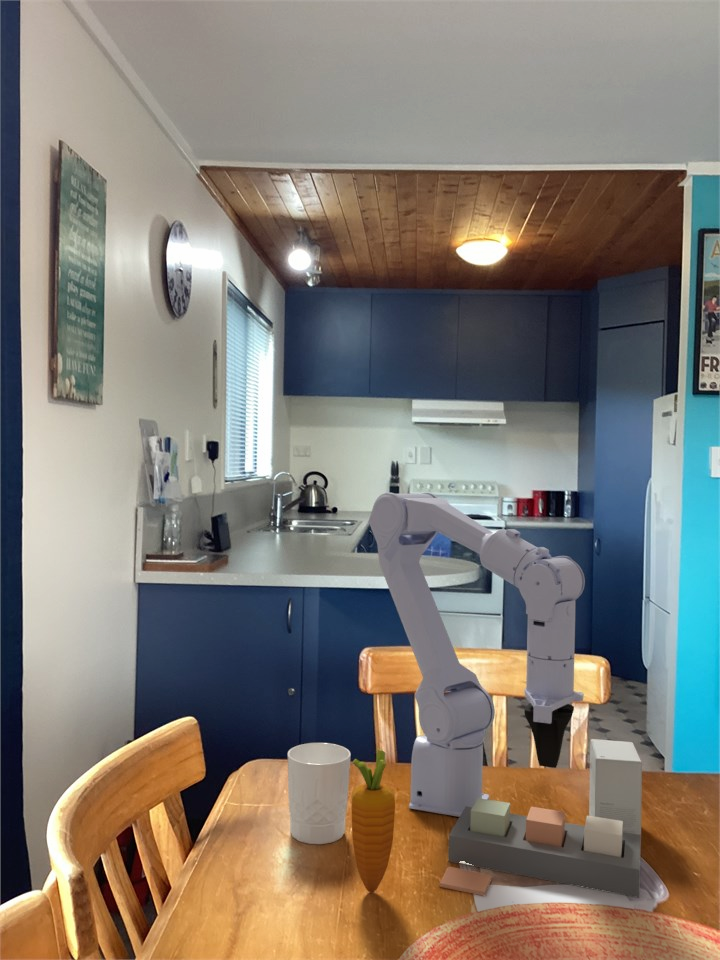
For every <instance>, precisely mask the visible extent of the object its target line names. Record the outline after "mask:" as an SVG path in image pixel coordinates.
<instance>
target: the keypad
mask: <svg viewBox="0 0 720 960" xmlns="http://www.w3.org/2000/svg"><path fill="white" fill-rule="evenodd" d="M471 809H472V807H467V806H466V807H465V809H464V810H463V812H462V814H461V815H460V817H458V818H457V821H456V823H455V824H454V826H453V827H452V830H450V833H449V835H448V853H447V855H448V856H447V857H448V860H447V861H448V862H450V863H453V864H454V863H456V864H460V863H459V862H460V861H465V862H466V863H469V864H472V865H474V866H473V867H476V868H477V867H478V868H481V869H487V870H493V871H497V872H502V873H506V874H507V873H508V874H514V875H518V876H523V877H528V878H535V879H538V880H539V879H540V880H544V881H545V880H546V881H551V882H554V883H555V882H556V883H561V884H565V885H570V886H571V885H572V886H576V887H581V886H583V887H582V888H586V887H588V888H587V889H591V888H593V889H592V890H596V889H598V890H597V891H602V890H603V891H602V892H608V893H612V894H613V893H614V894H618V895H623V896H629V897H635V898H640V888H641V887H640V885H641V884H640V881H641V880H640V879H641V849H642V848H641V847H642V846H641V845H642V834H641V835H638V834H632V833H626V832H623V833H622V857H616V856H611V855H605V854H599V853H594V852H588V851H584V828H585V825H584V824H583V825H582V824H578V823H577V824H576V823H570V822H565V842H564V846H563V847H559V846H554V845H548V844H542V843H536V842H531V841H526V819H527V816H528V815H522V814H521V815H520V814H515V813H510V829H509V832H508V834H507V837H502V836H496V835H491V834H485V833H479V832H473V831H470V823H471Z"/></svg>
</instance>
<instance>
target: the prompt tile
mask: <svg viewBox="0 0 720 960" xmlns="http://www.w3.org/2000/svg"><path fill="white" fill-rule="evenodd" d="M492 879H493V875H492V874H489V873H484V872H480V871H474V870H468V869H465V868H458V867H453V866H447V867H446V870H445V872H444V874H443V876H442V878H441V880H440V881H439V887H440V888H445V889H449V890H454V891H458V892H463V893H469V894H475V895H478V896H483V895H485V896H486V894H487V892H486V891H488V889H489V887H490V885H491V882H492Z"/></svg>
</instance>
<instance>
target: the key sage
mask: <svg viewBox="0 0 720 960" xmlns="http://www.w3.org/2000/svg"><path fill="white" fill-rule="evenodd" d="M510 814H511V802H505V801H498V800H494V799H489V800H487V799H481V798H477V800H476V802H475V804H474V806H473V807H472V809H471V823H470V831H473V832H479V833H485V834H491V835H496V836H502V837H507V834H508V832H509V829H510Z"/></svg>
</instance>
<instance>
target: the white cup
mask: <svg viewBox="0 0 720 960" xmlns="http://www.w3.org/2000/svg"><path fill="white" fill-rule="evenodd" d="M350 766H351V751H350V750H349V749H348V748H346V747H345V746H342V745H339V744H335V743H330V742H308V743H304V744H303V743H302V744H299V745H296V746H294V747H291V748H290V749H289V750H288V751H287V776H288V777H287V783H288V785H287V788H288V789H287V791H288V809H289V812H288V813H289V815H290V816H289V821H290V822H289V824H290V826H289V827H290V829H289V830H290V833H291V837H292V838H294V839H295V840H297V841H298V842H300V843H305V844H309V845H326V844H330V843H334V842H336V841H338V840H340V839H342V837H343V836H344V834H345V832H346V817H347V816H346V814H347V810H348V809H347V808H348V798H349V786H350V784H349V783H350V768H351V767H350Z"/></svg>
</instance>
